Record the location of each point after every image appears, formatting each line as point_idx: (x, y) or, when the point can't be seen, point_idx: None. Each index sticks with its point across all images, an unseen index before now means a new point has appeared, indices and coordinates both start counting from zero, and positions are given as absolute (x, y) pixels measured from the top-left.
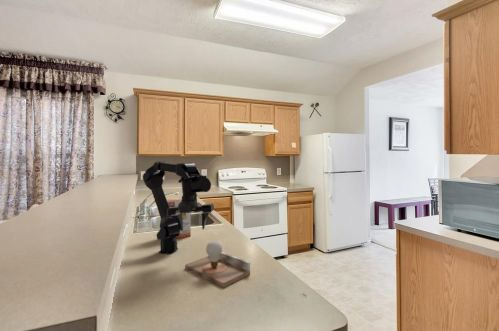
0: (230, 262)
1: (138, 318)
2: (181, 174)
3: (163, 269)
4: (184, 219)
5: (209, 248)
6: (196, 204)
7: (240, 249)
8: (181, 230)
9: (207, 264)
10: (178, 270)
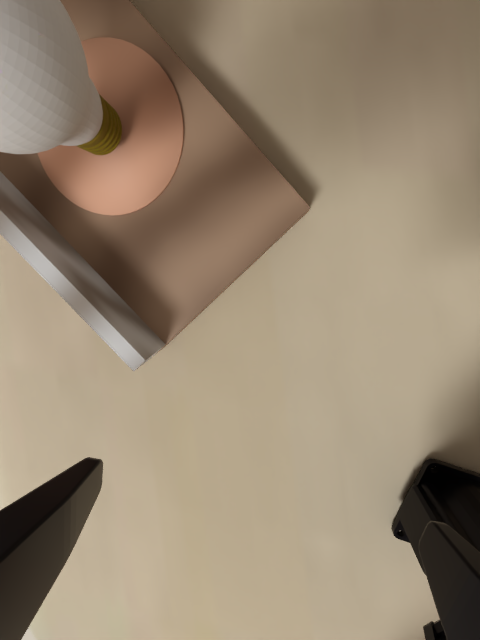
0: (14, 193)
1: None
2: None
3: (455, 211)
4: None
5: None
6: None
7: (23, 451)
8: (443, 524)
9: (158, 190)
10: (348, 187)
